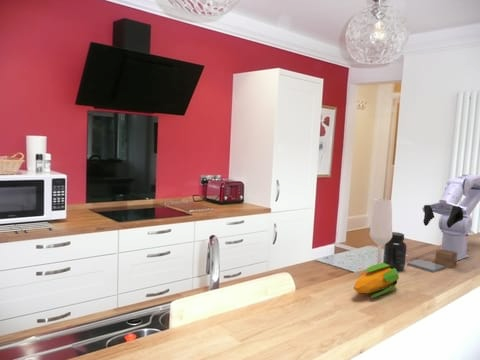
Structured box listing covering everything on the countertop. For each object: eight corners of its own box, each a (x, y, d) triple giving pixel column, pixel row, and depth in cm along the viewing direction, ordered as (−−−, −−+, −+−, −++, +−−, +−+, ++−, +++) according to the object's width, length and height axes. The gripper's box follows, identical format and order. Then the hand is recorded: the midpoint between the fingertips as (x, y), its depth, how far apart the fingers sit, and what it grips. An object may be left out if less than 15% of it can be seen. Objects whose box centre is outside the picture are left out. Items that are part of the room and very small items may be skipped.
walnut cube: (441, 262, 138) (442, 249, 137) (456, 266, 134) (457, 252, 133) (434, 264, 135) (436, 250, 134) (449, 268, 131) (451, 254, 130)
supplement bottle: (378, 266, 130) (380, 231, 129) (393, 264, 133) (395, 230, 131) (394, 272, 124) (397, 236, 122) (409, 270, 126) (412, 235, 125)
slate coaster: (418, 261, 138) (419, 259, 137) (444, 268, 130) (444, 266, 130) (407, 264, 133) (407, 262, 133) (433, 272, 126) (433, 270, 125)
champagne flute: (381, 280, 116) (388, 202, 114) (362, 274, 121) (367, 199, 119) (393, 276, 120) (399, 201, 118) (373, 270, 125) (379, 198, 123)
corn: (405, 262, 110) (370, 277, 96) (405, 288, 110) (370, 306, 96) (380, 257, 115) (344, 270, 101) (380, 282, 115) (344, 299, 102)
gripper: (426, 191, 142) (412, 213, 135) (469, 192, 131) (456, 216, 124) (430, 206, 144) (417, 229, 137) (473, 208, 133) (461, 233, 126)
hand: (436, 224), depth 131 cm, fingers open, 7 cm apart
